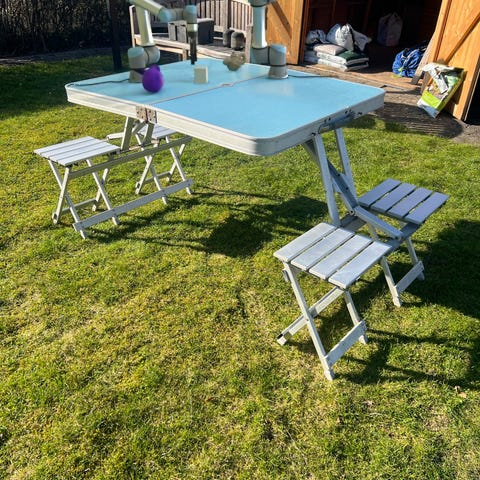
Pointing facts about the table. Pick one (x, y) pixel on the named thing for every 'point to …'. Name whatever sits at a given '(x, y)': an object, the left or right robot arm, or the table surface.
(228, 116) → the table surface
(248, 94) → the table surface
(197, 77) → the brick
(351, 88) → the table surface
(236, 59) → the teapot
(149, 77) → the toy
